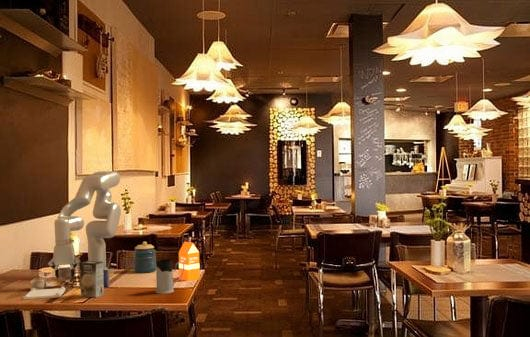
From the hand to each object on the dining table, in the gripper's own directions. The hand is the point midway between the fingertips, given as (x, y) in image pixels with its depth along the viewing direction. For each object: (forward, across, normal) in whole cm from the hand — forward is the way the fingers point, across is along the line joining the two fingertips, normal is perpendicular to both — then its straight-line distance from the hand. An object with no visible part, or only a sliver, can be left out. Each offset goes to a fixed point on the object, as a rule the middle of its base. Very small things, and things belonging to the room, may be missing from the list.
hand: (65, 276), depth 275 cm
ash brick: (+5, +13, +1) cm, 14 cm away
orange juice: (+7, -64, -1) cm, 64 cm away
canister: (+8, -39, -32) cm, 51 cm away
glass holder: (+6, -53, +26) cm, 59 cm away
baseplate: (+4, +7, +16) cm, 18 cm away
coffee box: (+5, -16, +25) cm, 30 cm away
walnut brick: (+1, 0, 0) cm, 1 cm away
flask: (+6, -18, +4) cm, 20 cm away
